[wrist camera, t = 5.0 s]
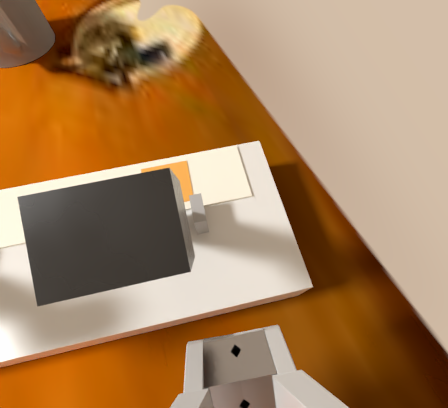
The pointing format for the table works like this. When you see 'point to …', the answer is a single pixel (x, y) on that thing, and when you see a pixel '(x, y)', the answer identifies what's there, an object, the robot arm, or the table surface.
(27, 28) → the coffee mug
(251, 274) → the switch console
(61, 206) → the marked lever
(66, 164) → the table surface
